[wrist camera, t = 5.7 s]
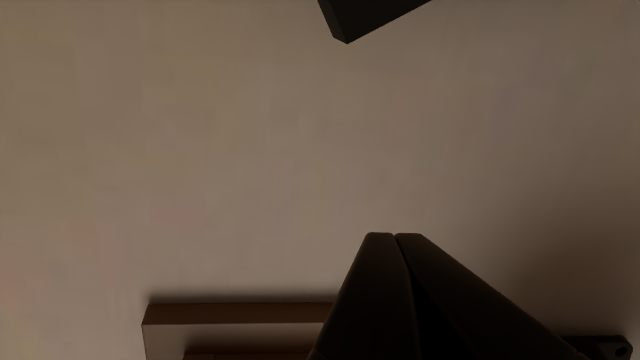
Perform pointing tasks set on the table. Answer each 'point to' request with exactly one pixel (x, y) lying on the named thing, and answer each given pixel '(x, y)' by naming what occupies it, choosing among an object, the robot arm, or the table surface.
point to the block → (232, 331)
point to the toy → (363, 15)
